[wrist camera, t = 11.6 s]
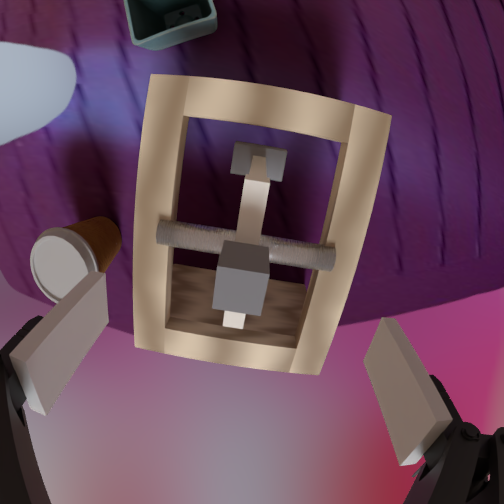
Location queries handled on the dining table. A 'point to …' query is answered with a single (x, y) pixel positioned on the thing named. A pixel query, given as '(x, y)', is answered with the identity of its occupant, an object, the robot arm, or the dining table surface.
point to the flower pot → (169, 21)
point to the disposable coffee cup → (73, 254)
